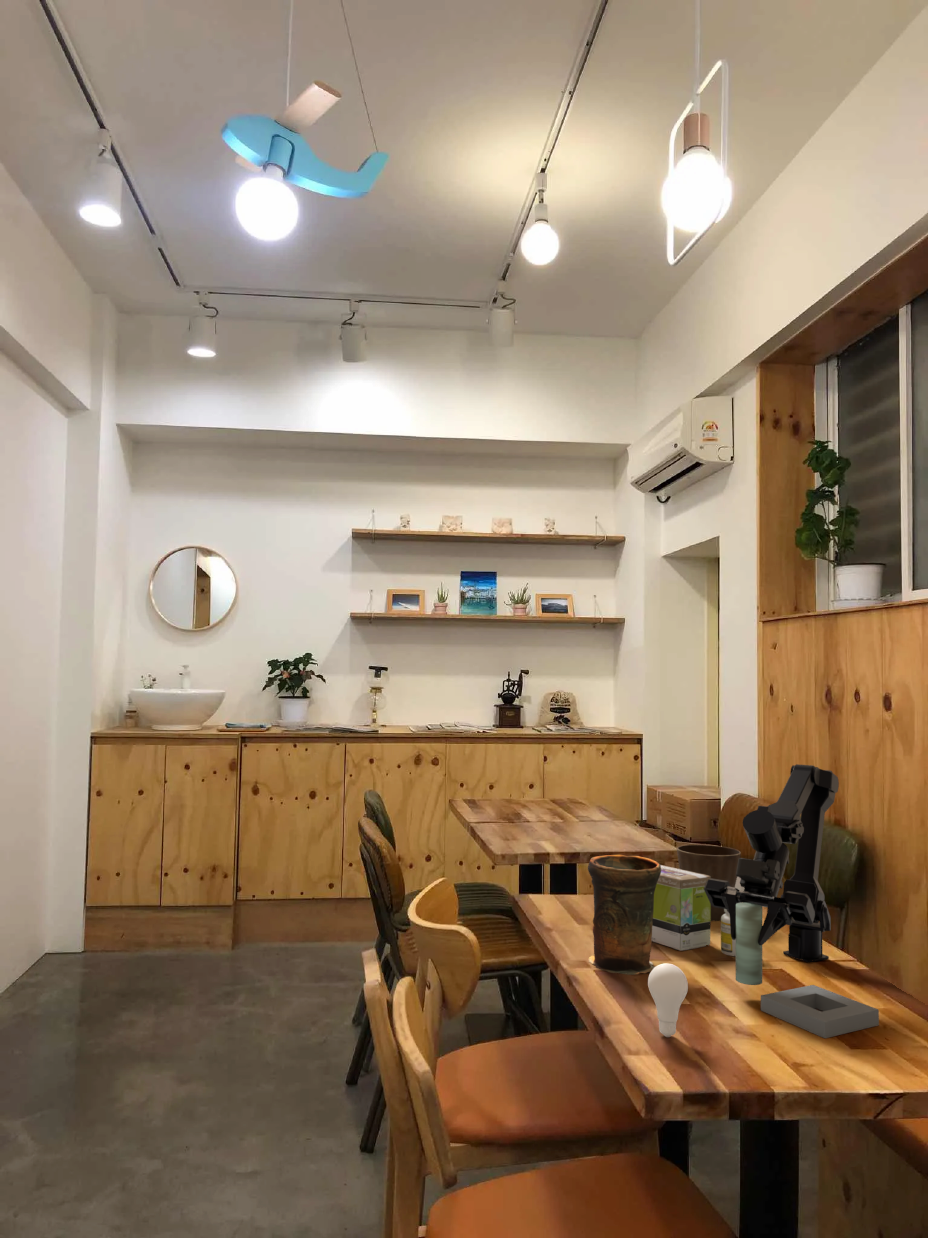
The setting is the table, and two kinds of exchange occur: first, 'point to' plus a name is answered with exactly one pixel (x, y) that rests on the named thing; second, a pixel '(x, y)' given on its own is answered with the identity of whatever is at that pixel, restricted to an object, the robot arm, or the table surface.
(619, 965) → the vessel
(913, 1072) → the table surface
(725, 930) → the supplement bottle
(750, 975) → the peg
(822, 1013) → the holder board
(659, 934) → the tea box
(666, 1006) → the lightbulb
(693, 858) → the plant pot
